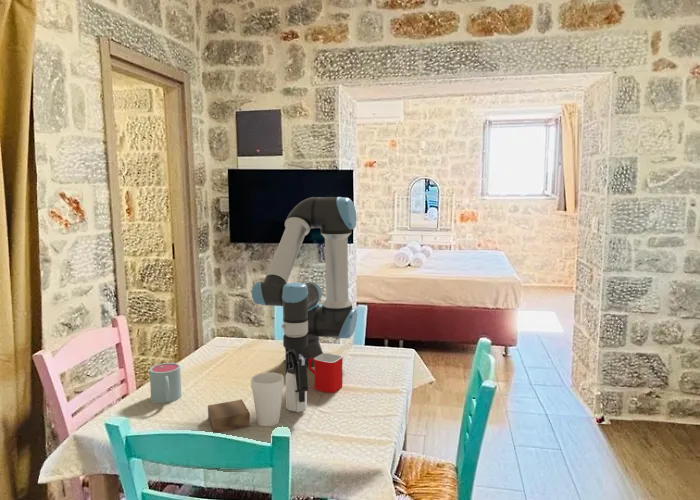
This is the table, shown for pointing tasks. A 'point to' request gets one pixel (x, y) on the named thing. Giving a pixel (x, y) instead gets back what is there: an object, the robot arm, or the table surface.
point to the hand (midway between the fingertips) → (296, 405)
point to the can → (292, 390)
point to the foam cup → (267, 397)
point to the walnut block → (228, 416)
